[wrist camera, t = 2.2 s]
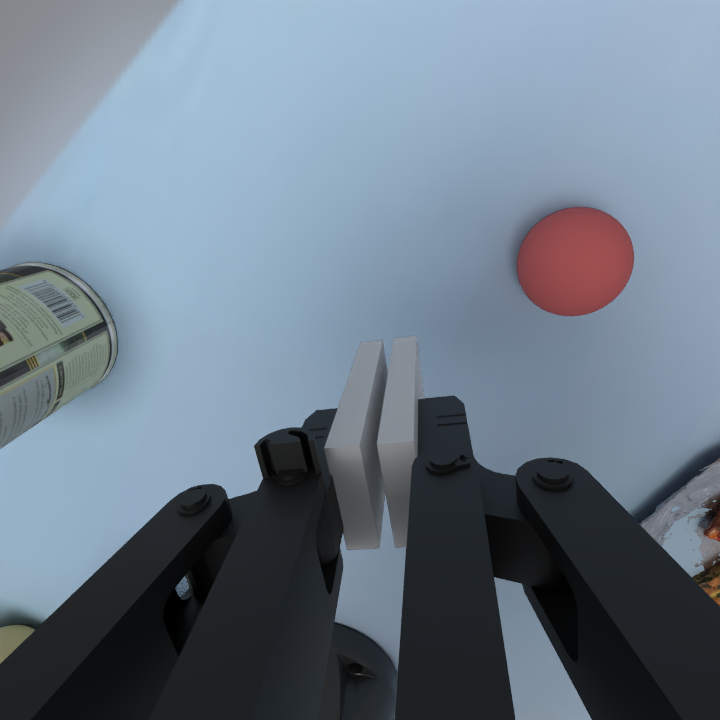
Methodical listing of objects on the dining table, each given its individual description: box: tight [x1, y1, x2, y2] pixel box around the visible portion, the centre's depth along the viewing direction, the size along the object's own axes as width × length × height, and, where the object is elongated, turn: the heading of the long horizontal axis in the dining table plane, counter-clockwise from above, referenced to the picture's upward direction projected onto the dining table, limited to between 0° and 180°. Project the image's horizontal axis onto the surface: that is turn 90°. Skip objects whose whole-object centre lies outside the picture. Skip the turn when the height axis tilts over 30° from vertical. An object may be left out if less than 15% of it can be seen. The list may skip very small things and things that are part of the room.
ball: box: [517, 207, 634, 316], centre depth 27 cm, size 6×6×6 cm
